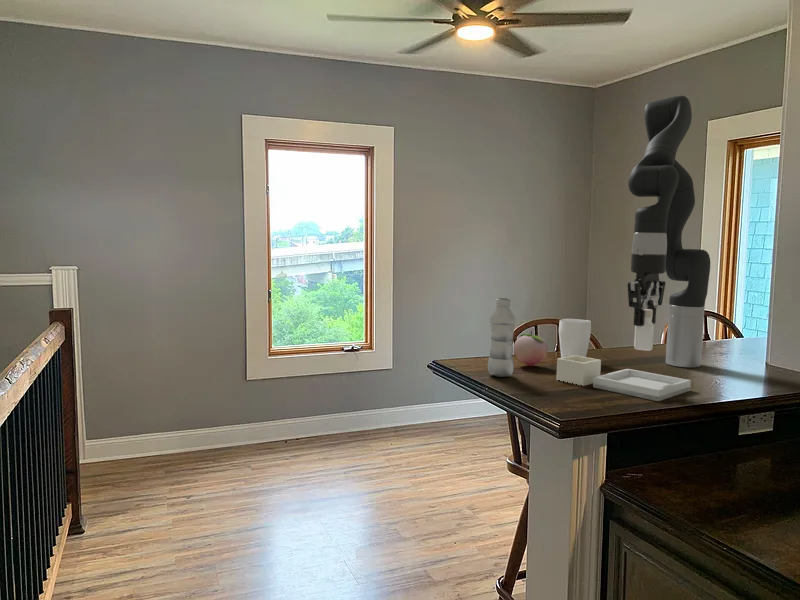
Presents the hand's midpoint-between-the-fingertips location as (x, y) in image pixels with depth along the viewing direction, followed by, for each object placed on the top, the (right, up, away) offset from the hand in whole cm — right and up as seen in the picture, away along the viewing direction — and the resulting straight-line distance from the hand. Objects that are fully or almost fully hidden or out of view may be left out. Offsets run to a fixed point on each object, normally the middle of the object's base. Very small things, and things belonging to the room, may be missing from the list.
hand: (644, 324), depth 142 cm
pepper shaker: (0, -6, +1) cm, 6 cm away
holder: (-13, -14, +9) cm, 21 cm away
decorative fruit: (-22, -13, +25) cm, 36 cm away
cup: (-7, -12, +34) cm, 37 cm away
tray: (0, -15, +1) cm, 15 cm away
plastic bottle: (-32, -14, +12) cm, 37 cm away
